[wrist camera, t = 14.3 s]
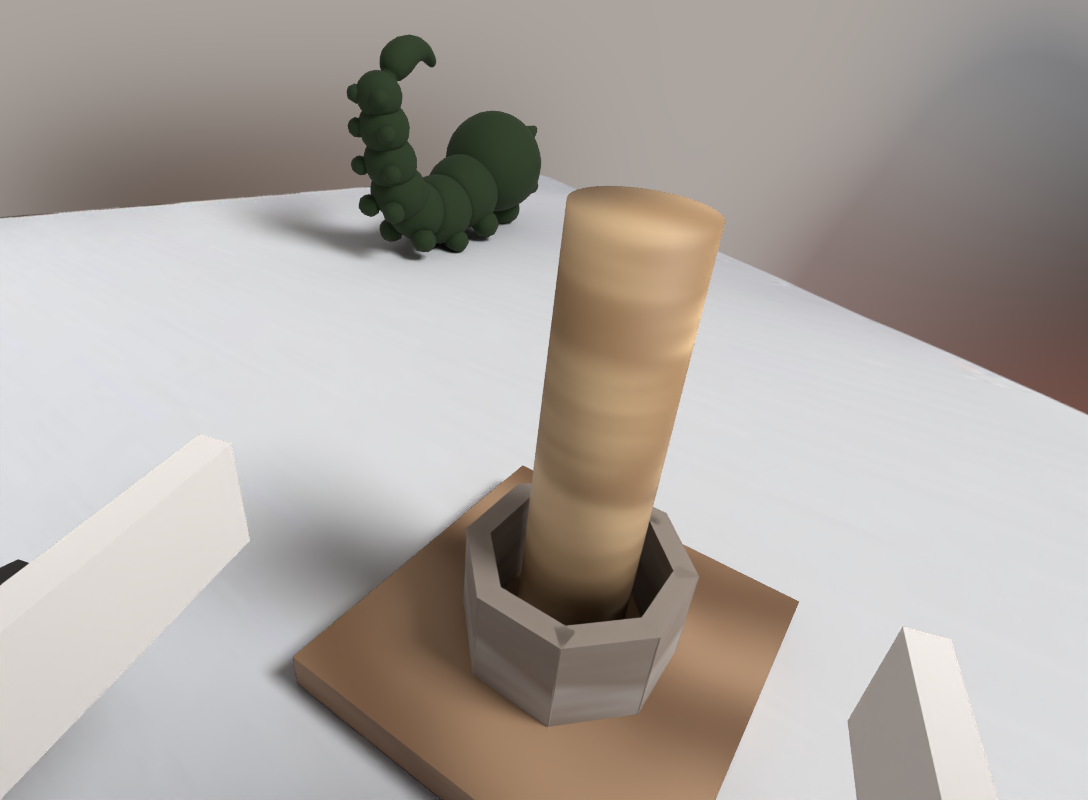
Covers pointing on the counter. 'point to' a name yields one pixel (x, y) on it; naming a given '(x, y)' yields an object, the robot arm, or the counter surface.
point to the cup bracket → (550, 669)
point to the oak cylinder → (611, 391)
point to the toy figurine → (455, 182)
